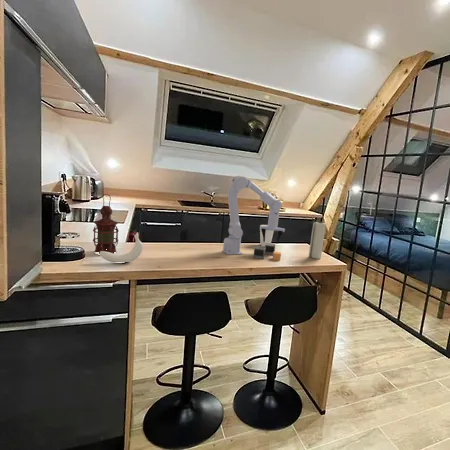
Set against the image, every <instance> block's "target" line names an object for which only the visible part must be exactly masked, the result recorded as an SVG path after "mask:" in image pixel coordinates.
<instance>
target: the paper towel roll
mask: <svg viewBox="0 0 450 450" xmlns="http://www.w3.org/2000/svg"><path fill="white" fill-rule="evenodd" d="M326 224H327V223H326V222H321V221H320V222H319V221H314V222H313V223H312V229H311V237H310V243H309V244H310V245H309V250H308V258H312V259H316V260H317V259H318V260H319V259H322V252H323V246H324V241H325V240H324V239H325V233H326V227H327V225H326Z"/></svg>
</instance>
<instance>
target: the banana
mask: <svg viewBox="0 0 450 450" xmlns="http://www.w3.org/2000/svg"><path fill="white" fill-rule="evenodd" d="M134 239H135V242H134V243H135V244H134V246H133V248H132V249H131V250H130V251H129V252H127V253H124V254H123V253H122V254H118V253H116V254H114V253H110V252H105V251H100V253H99V254H100V255H99V256H100V257H101V258H102V259H104V260H105V261H107V262H110V263H112V262H129V263H132V262H134V261H135V260H137V259H138V258H139V257H140V255H141V254H142V252H143V250H144V245H143V243H142V241H141V240H140V239H139V232H136V234H134Z"/></svg>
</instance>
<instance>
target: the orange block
mask: <svg viewBox="0 0 450 450" xmlns="http://www.w3.org/2000/svg"><path fill="white" fill-rule="evenodd" d="M281 255H282V253H281V251H276V250H275V251H274V252H273V255H272V261H279V262H280V261H281V257H282V256H281Z"/></svg>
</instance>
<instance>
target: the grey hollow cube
mask: <svg viewBox="0 0 450 450" xmlns="http://www.w3.org/2000/svg"><path fill="white" fill-rule="evenodd" d="M264 253H265V246H261V245H260V246H259V245H258V246H257V245H255V246H254V248H253V257H252V258H253V259H261V260H264V258H265V254H264Z"/></svg>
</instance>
